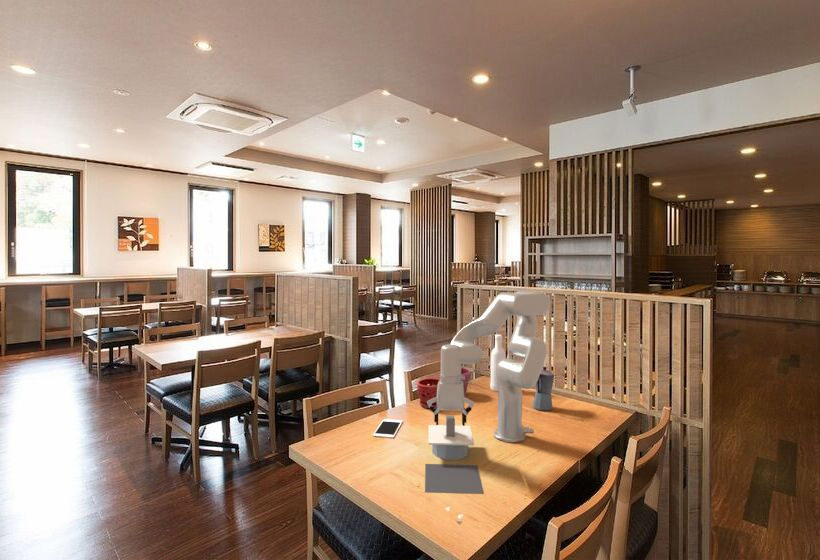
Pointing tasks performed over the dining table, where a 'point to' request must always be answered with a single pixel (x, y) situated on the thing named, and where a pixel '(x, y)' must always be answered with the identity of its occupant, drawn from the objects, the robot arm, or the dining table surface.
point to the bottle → (496, 361)
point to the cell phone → (388, 428)
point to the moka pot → (544, 390)
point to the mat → (452, 479)
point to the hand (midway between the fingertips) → (450, 424)
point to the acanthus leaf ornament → (458, 516)
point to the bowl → (450, 451)
